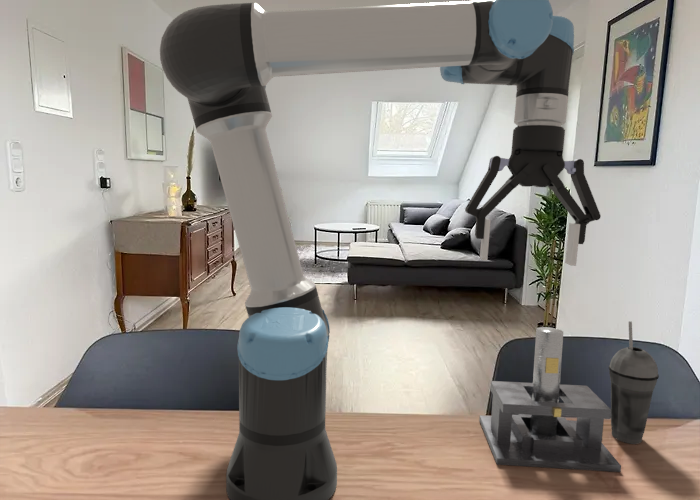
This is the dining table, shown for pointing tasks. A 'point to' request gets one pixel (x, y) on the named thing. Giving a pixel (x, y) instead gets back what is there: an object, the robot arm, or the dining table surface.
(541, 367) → the silver metal cylinder
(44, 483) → the dining table surface
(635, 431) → the beverage cup
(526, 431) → the grey holder stand
